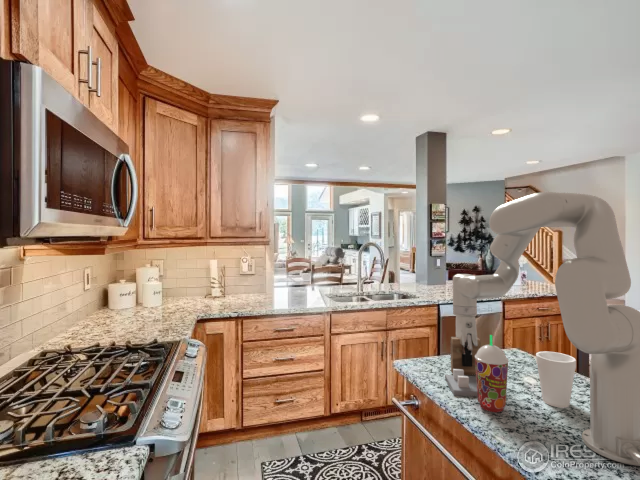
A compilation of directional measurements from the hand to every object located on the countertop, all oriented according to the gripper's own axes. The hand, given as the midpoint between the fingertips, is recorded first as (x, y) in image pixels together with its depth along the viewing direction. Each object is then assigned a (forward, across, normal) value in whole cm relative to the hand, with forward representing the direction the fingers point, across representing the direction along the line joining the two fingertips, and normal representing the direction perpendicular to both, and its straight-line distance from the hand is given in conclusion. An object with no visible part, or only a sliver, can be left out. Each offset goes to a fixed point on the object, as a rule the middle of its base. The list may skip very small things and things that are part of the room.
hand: (465, 363), depth 120 cm
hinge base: (+4, -11, +1) cm, 11 cm away
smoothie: (+4, -23, -1) cm, 24 cm away
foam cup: (+4, -18, -20) cm, 27 cm away
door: (+3, 0, 0) cm, 3 cm away
